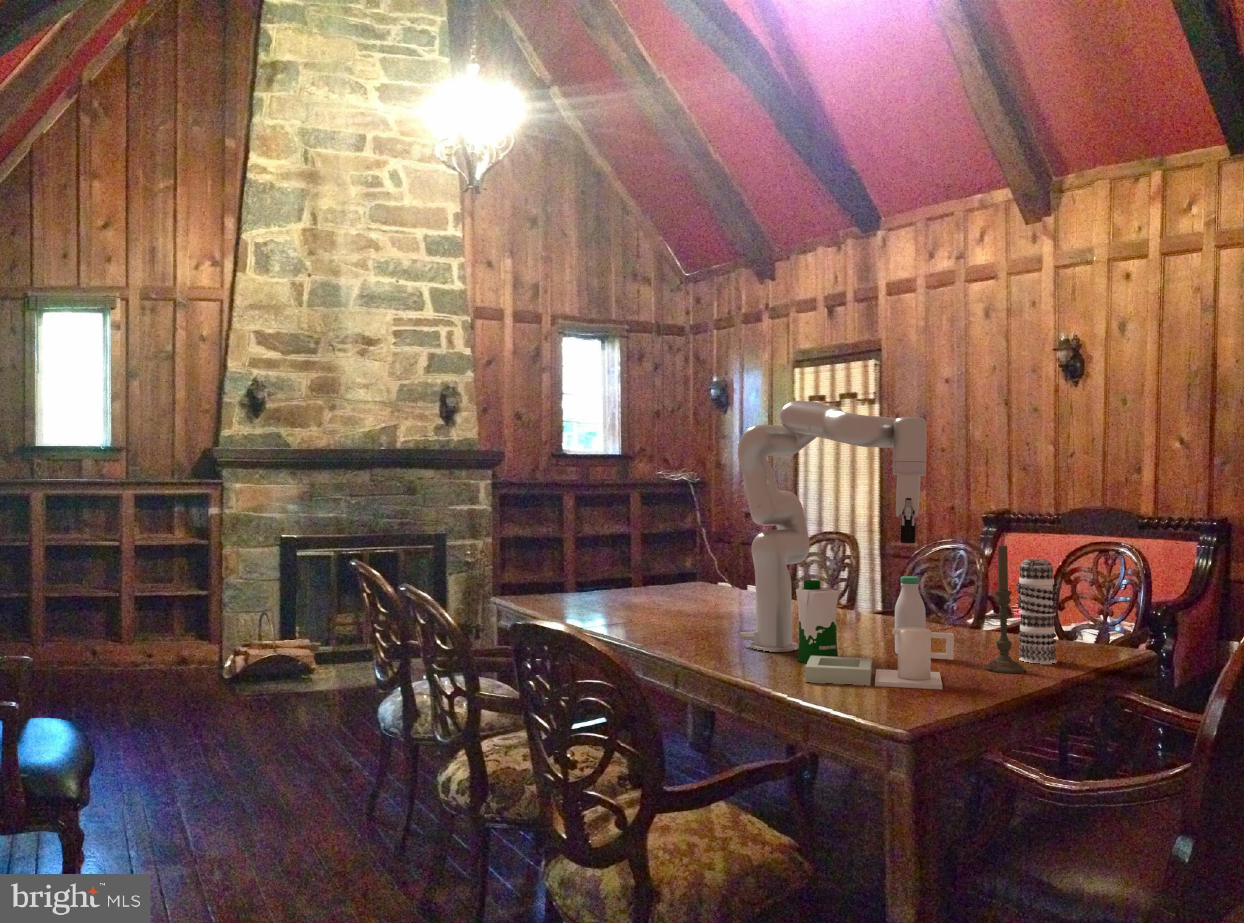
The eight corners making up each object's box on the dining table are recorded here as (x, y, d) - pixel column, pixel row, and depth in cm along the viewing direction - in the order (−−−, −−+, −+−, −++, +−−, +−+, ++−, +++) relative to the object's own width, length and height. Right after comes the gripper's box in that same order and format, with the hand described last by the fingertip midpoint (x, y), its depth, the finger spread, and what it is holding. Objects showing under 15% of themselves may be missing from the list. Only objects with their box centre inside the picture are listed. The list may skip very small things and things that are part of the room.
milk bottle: (928, 657, 241) (926, 578, 242) (896, 656, 243) (895, 577, 243) (924, 652, 249) (923, 575, 249) (894, 651, 250) (893, 574, 251)
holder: (805, 682, 213) (805, 666, 213) (810, 670, 226) (810, 655, 226) (870, 685, 209) (870, 669, 209) (871, 673, 222) (871, 658, 222)
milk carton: (820, 658, 242) (819, 578, 242) (844, 664, 234) (843, 582, 234) (792, 661, 238) (792, 580, 238) (816, 667, 230) (815, 584, 230)
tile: (874, 685, 209) (874, 681, 209) (876, 673, 222) (876, 669, 222) (942, 689, 205) (942, 684, 205) (939, 676, 218) (939, 672, 218)
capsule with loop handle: (891, 678, 211) (892, 630, 211) (891, 672, 218) (891, 625, 218) (954, 682, 208) (954, 634, 208) (951, 676, 214) (952, 629, 214)
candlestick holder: (976, 666, 230) (975, 541, 230) (1013, 665, 231) (1011, 541, 231) (994, 673, 221) (993, 544, 221) (1032, 672, 221) (1030, 543, 222)
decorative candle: (1026, 656, 242) (1025, 557, 243) (1064, 660, 235) (1062, 559, 236) (1011, 661, 236) (1009, 559, 236) (1049, 666, 229) (1047, 561, 230)
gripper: (893, 468, 235) (892, 537, 236) (892, 469, 219) (890, 543, 219) (925, 469, 233) (924, 539, 233) (926, 469, 217) (924, 545, 217)
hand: (907, 541), depth 226 cm, fingers open, 9 cm apart
